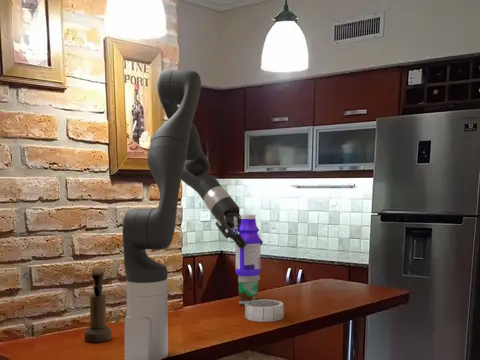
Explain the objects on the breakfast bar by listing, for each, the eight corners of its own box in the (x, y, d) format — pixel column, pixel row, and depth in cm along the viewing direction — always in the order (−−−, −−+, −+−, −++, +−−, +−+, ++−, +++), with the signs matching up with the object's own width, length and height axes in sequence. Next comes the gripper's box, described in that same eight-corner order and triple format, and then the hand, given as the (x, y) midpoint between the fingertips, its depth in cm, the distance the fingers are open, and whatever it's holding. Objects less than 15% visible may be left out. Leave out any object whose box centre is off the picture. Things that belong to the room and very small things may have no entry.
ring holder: (277, 322, 143) (276, 308, 143) (240, 320, 147) (240, 306, 147) (287, 314, 154) (287, 300, 154) (252, 311, 157) (252, 298, 157)
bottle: (251, 273, 150) (251, 214, 150) (264, 275, 145) (264, 214, 146) (232, 275, 145) (231, 214, 146) (244, 278, 141) (244, 214, 141)
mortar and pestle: (101, 334, 134) (101, 265, 134) (116, 338, 129) (116, 267, 130) (79, 340, 128) (79, 268, 129) (94, 344, 124) (94, 270, 125)
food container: (257, 307, 163) (256, 276, 163) (238, 307, 164) (238, 275, 165) (263, 299, 175) (262, 270, 175) (245, 299, 176) (245, 270, 177)
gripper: (211, 195, 145) (243, 238, 137) (243, 196, 156) (274, 235, 149) (198, 214, 148) (228, 256, 140) (229, 213, 159) (259, 252, 152)
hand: (252, 245), depth 145 cm, fingers closed on bottle, 7 cm apart
